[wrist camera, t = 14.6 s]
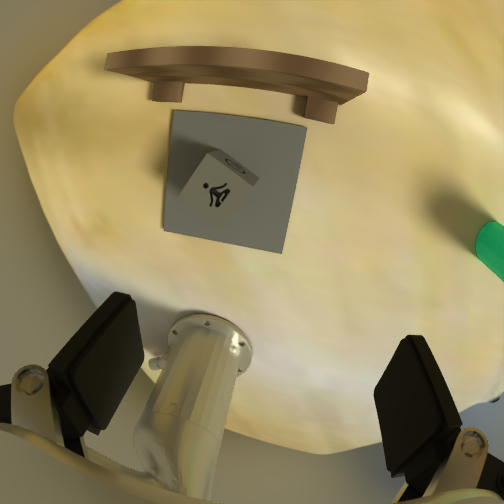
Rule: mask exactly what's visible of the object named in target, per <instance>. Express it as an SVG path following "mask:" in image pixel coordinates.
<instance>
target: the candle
mask: <svg viewBox="0 0 504 504" xmlns="http://www.w3.org/2000/svg"><path fill="white" fill-rule="evenodd" d="M475 251H476V254H477V257H478V259H479V260H480V261H482V262H483V263H484V264H485V265H486V266H487V267H488V268H489V269H490V270H492V271H493V272H494V273H495V274H496V275H497V276H498V277H499V278H500V279H501V280H502V281H503V282H504V226H503V225H501V224H499V223H498V222H496V221H494V222H488V223H487V224H486V225H485V226H484V227H483V228H482V229H481V230H480V233H479V235H478V237H477V239H476V248H475Z"/></svg>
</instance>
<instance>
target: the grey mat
mask: <svg viewBox="0 0 504 504" xmlns="http://www.w3.org/2000/svg"><path fill="white" fill-rule="evenodd" d="M306 132H307V128H306V127H302V126H297V125H292V124H286V123H281V122H275V121H269V120H263V119H256V118H249V117H242V116H234V115H225V114H216V113H205V112H192V111H175V110H174V116H173V124H172V132H171V140H170V149H169V159H168V170H167V182H166V196H165V213H164V231H167V232H172V233H177V234H182V235H188V236H193V237H198V238H203V239H208V240H213V241H218V242H223V243H229V244H234V245H239V246H244V247H249V248H254V249H259V250H264V251H269V252H274V253H279V254H282V250H283V245H284V241H285V236H286V232H287V227H288V222H289V217H290V213H291V208H292V203H293V198H294V193H295V188H296V183H297V178H298V173H299V168H300V163H301V158H302V153H303V148H304V142H305V137H306ZM217 150H222V151H224V152H225V153H226V154H228V155H229V156H230V157H232V158H233V159H235V160H236V161H237V162H239V163H240V164H241V165H243V166H244V167H245V168H247V169H248V170H249V171H251V172H252V173H253V174H255V175H256V176H257V177H258V178H259V179H258V181H257V182H256V184H255V185H254V187H253V188H252V189H251V191H250V192H249V193H248V194H247V196H246V197H245V198H244V200H243V201H242V202H241V203H240V205H239V206H238V207H237V209H236V210H235V211H234V212H233V214H232V215H231V216H230V218H229V219H228V220H227V222H226V223H225V224H224V225H223V227H222V228H221V229H220V228H218V227H217V226H216V225H214V224H213V223H212V222H210V221H209V220H208V219H206V218H205V217H204V216H202V215H201V214H200V213H198V212H197V211H196V210H194V209H193V208H192V207H190V206H189V205H188V204H186V203H185V202H184V201H182V200H181V199H180V198H178V196H179V194H180V193H181V191H182V190H183V188H184V187H185V185H186V184H187V182H188V181H189V179H190V178H191V176H192V175H193V173H194V172H195V170H196V169H197V167H198V166H199V164H200V163H201V161H202V160H203V159H204V157H205V156H206V154H207V153H209V152H213V151H217Z"/></svg>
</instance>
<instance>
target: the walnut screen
mask: <svg viewBox="0 0 504 504" xmlns="http://www.w3.org/2000/svg"><path fill="white" fill-rule="evenodd" d="M104 70H108V71H112V72H117V73H121V74H125V75H129V76H133V77H136V78H140V79H144V80H147V81H151V82H154V83H155V86H154V92H153V99H152V101H156V102H182V96H183V90H184V84H185V83H195V84H214V85H227V86H237V87H246V88H254V89H262V90H269V91H275V92H281V93H287V94H293V95H298V96H303V97H307V102H306V107H305V113H304V118H307V119H312V120H317V121H321V122H325V123H330V124H334V123H335V117H336V112H337V106H338V105H342V104H344V103H346V102H348V101H349V100H351V99H353V98H355V97H357V96H359V95H361V94H363V93H365V92H366V90H367V84H368V77H369V73H368V72H365V71H362V70H358V69H355V68H351V67H348V66H344V65H340V64H336V63H332V62H328V61H323V60H319V59H314V58H309V57H304V56H299V55H293V54H287V53H281V52H274V51H266V50H257V49H247V48H234V47H213V46H179V47H159V48H146V49H136V50H128V51H120V52H113V53H108V54H107V59H106V64H105V69H104Z"/></svg>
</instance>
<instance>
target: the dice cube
mask: <svg viewBox="0 0 504 504" xmlns="http://www.w3.org/2000/svg"><path fill="white" fill-rule="evenodd" d="M258 179H259V178H258V177H257V176H256V175H255V174H253V173H252V172H251V171H249V170H248V169H247V168H245V167H244V166H243V165H241V164H240V163H239V162H237V161H236V160H235V159H233V158H232V157H230V156H229V155H228V154H226V153H225V152H224V151H222V150H217V151H213V152H209V153H207V154H206V156H205V157H204V159H203V160H202V161H201V163H200V164H199V166H198V167H197V169H196V170H195V172H194V173H193V175H192V176H191V178H190V179H189V181H188V182H187V184H186V185H185V187H184V188H183V190H182V191H181V193H180V194H179V196H178V198H180V199H181V200H182V201H184V202H185V203H186V204H188V205H189V206H190V207H192V208H193V209H194V210H196V211H197V212H198V213H200V214H201V215H202V216H204V217H205V218H206V219H208V220H209V221H210V222H212V223H213V224H214V225H216V226H217V227H218V228H220V229H221V228H222V227H223V225H224V224H225V223H226V222H227V220H228V219H229V218H230V216H231V215H232V214H233V212H234V211H235V210H236V209H237V207H238V206H239V205H240V203H241V202H242V201H243V200H244V198H245V197H246V196H247V194H248V193H249V192H250V191H251V189H252V188H253V187H254V185H255V184H256V182H257V181H258Z"/></svg>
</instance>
